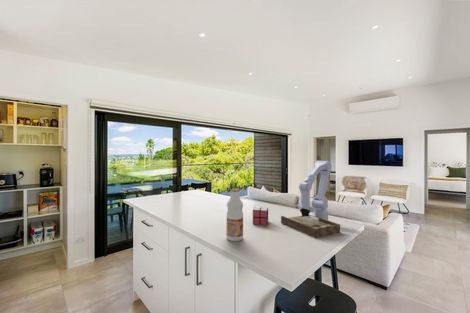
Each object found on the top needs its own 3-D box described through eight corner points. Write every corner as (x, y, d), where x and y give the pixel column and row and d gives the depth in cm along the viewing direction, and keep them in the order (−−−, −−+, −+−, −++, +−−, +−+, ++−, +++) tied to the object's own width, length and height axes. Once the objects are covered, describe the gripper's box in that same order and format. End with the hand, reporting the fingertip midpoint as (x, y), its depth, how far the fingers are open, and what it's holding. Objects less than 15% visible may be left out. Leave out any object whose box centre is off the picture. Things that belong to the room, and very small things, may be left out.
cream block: (310, 221, 150) (310, 215, 150) (318, 224, 144) (318, 218, 144) (302, 222, 147) (302, 216, 147) (310, 225, 141) (310, 219, 141)
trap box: (303, 219, 166) (303, 212, 166) (339, 232, 138) (340, 224, 138) (281, 223, 156) (281, 215, 156) (315, 237, 128) (315, 229, 128)
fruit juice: (224, 236, 130) (225, 188, 130) (240, 235, 132) (241, 187, 132) (228, 242, 121) (228, 190, 120) (244, 240, 123) (245, 190, 123)
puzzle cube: (267, 225, 151) (267, 210, 151) (252, 224, 153) (252, 209, 153) (268, 221, 161) (268, 207, 161) (254, 220, 163) (254, 206, 163)
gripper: (293, 198, 155) (293, 218, 155) (308, 202, 142) (308, 223, 142) (301, 197, 158) (300, 216, 158) (316, 201, 145) (316, 222, 145)
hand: (305, 220), depth 150 cm, fingers closed
